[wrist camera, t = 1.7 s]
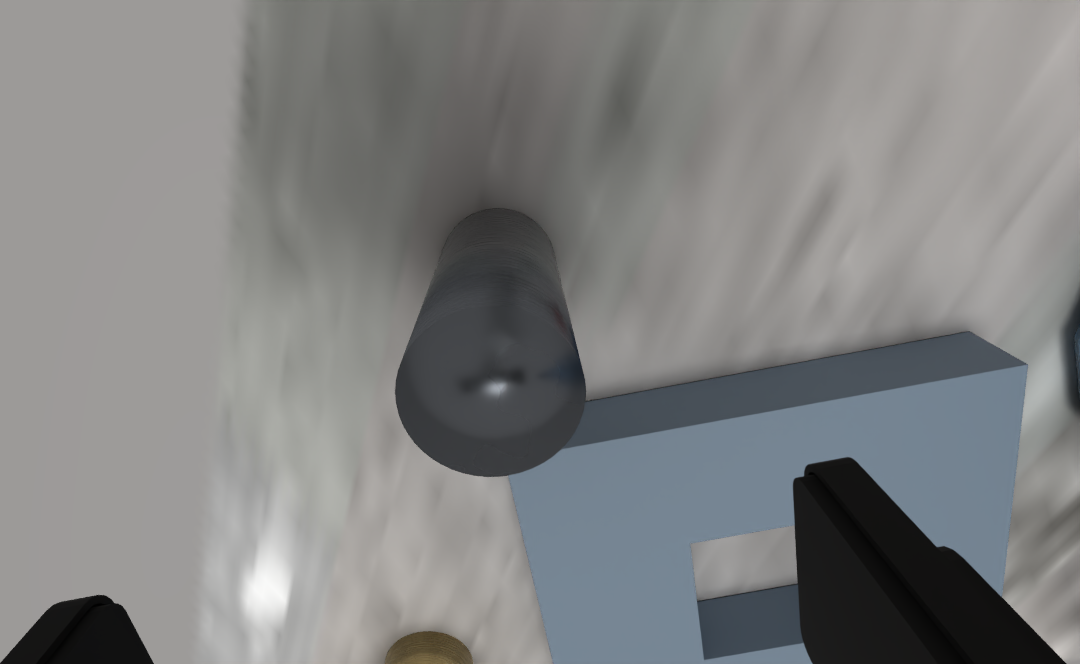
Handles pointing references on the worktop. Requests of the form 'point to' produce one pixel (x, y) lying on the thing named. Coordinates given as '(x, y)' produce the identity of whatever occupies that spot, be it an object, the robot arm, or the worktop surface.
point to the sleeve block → (759, 491)
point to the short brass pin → (428, 650)
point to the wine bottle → (1077, 354)
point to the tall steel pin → (492, 352)
